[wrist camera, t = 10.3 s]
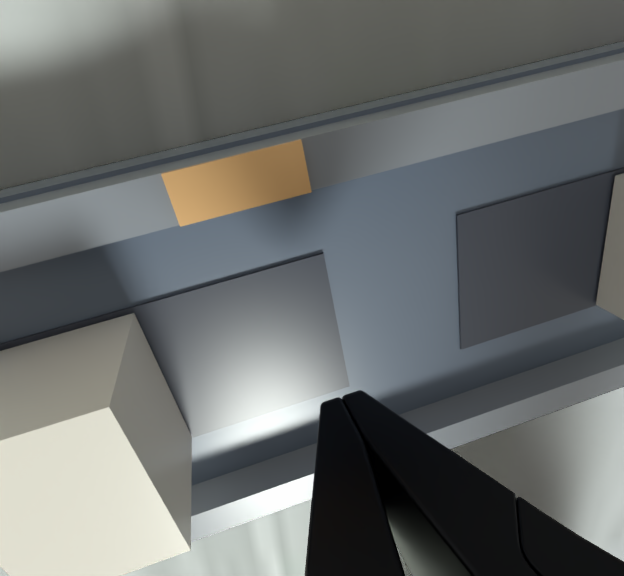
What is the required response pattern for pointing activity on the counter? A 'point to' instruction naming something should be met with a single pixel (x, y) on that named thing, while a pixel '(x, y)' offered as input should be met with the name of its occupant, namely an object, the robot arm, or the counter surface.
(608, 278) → the off-white rectangular block
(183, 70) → the counter surface
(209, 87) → the counter surface
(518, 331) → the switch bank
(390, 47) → the counter surface
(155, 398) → the cream block
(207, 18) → the counter surface
